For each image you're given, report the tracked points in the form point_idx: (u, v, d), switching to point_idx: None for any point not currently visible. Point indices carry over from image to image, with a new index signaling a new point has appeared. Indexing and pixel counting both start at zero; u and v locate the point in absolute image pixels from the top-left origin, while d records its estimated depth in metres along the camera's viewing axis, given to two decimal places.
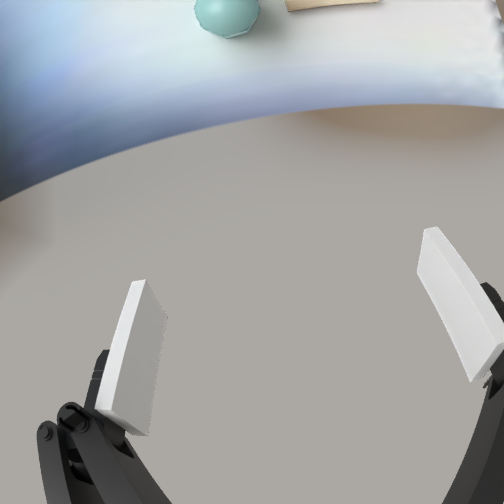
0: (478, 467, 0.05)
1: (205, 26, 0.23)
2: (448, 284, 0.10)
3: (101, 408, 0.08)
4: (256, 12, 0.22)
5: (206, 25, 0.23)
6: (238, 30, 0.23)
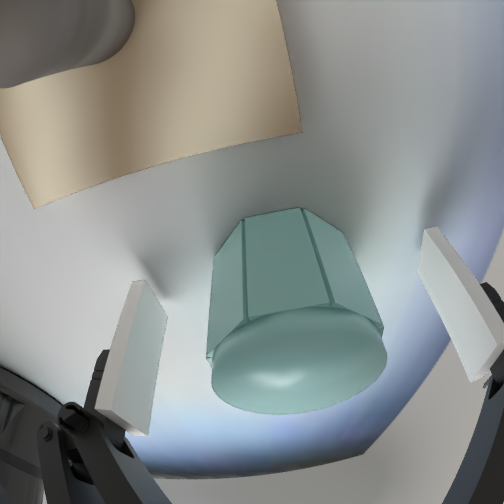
0: (478, 467, 0.05)
1: (338, 401, 0.11)
2: (448, 284, 0.10)
3: (101, 408, 0.08)
4: (345, 332, 0.08)
5: (337, 401, 0.11)
6: (382, 360, 0.09)
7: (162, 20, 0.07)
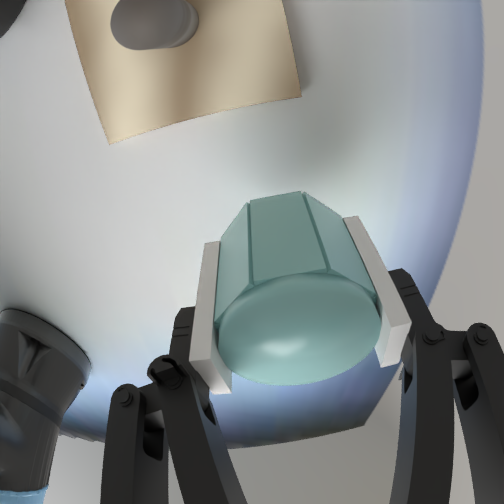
0: (408, 468, 0.06)
1: (337, 372, 0.12)
2: None
3: (197, 359, 0.10)
4: (340, 295, 0.09)
5: (335, 372, 0.12)
6: (377, 328, 0.10)
7: (216, 25, 0.12)
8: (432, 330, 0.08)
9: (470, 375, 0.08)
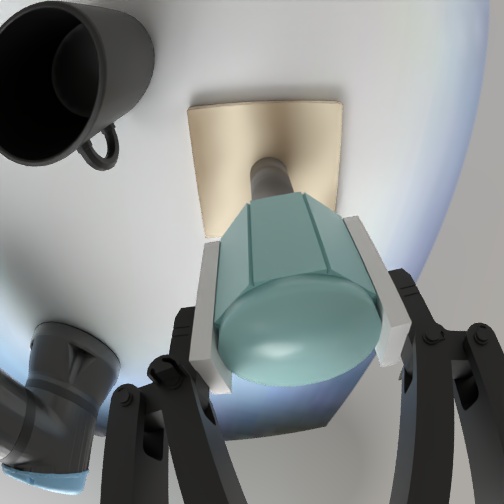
0: (408, 468, 0.06)
1: (337, 373, 0.12)
2: None
3: (197, 359, 0.10)
4: (341, 296, 0.09)
5: (336, 373, 0.12)
6: (377, 329, 0.10)
7: (296, 182, 0.23)
8: (432, 330, 0.08)
9: (470, 375, 0.08)
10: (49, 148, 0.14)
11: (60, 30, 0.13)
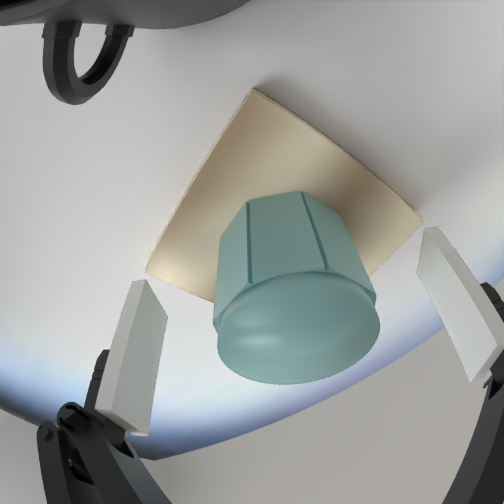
0: (478, 467, 0.05)
1: (336, 371, 0.12)
2: (448, 284, 0.10)
3: (101, 408, 0.08)
4: (339, 294, 0.09)
5: (334, 371, 0.12)
6: (376, 327, 0.10)
7: None
8: None
9: None
10: None
11: None
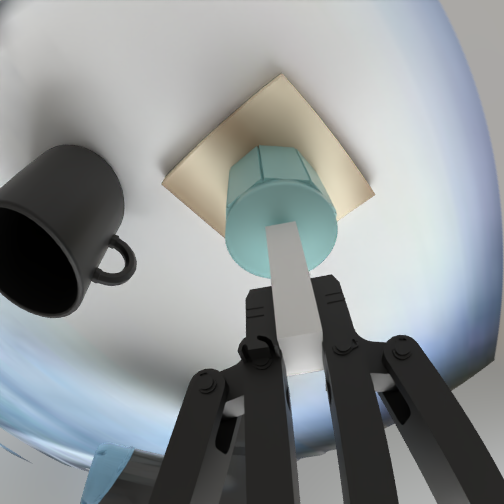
0: (345, 481, 0.06)
1: (332, 217, 0.15)
2: None
3: (286, 336, 0.10)
4: (235, 211, 0.15)
5: (330, 218, 0.15)
6: (282, 188, 0.14)
7: None
8: (342, 340, 0.09)
9: None
10: (75, 291, 0.18)
11: None
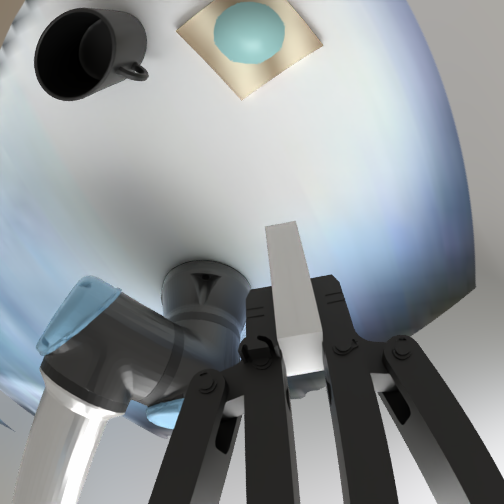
0: (345, 481, 0.06)
1: (280, 22, 0.20)
2: None
3: (286, 336, 0.10)
4: (221, 15, 0.20)
5: (279, 22, 0.20)
6: (249, 3, 0.19)
7: None
8: (342, 340, 0.09)
9: None
10: None
11: (73, 41, 0.23)
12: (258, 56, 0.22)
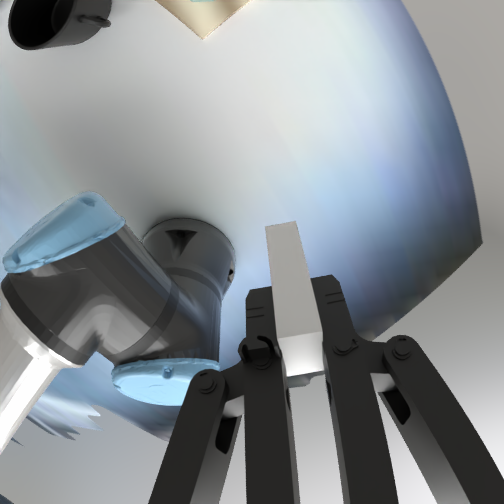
0: (345, 481, 0.06)
1: None
2: None
3: (286, 336, 0.10)
4: None
5: None
6: None
7: None
8: (342, 340, 0.09)
9: None
10: None
11: (46, 9, 0.20)
12: None
